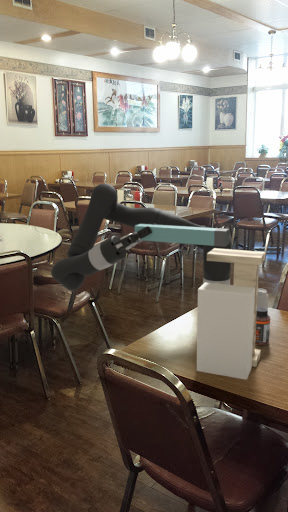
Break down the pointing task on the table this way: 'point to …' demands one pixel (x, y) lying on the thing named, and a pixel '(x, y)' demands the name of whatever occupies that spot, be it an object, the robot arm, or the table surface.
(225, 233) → the teal bar
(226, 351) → the base pedestal
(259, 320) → the supplement bottle
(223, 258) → the beige wooden column stand
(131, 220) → the robot arm
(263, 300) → the can
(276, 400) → the table surface
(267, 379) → the table surface
